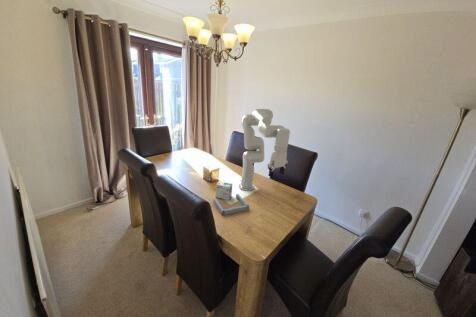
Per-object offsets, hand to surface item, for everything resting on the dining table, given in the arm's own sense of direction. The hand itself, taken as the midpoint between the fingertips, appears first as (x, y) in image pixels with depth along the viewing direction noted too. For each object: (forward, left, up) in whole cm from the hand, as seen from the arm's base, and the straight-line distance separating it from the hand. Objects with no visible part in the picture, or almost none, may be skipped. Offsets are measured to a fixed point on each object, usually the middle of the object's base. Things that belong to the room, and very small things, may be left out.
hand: (276, 175), depth 126 cm
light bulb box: (-31, -21, -29) cm, 47 cm away
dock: (-18, -21, -29) cm, 40 cm away
